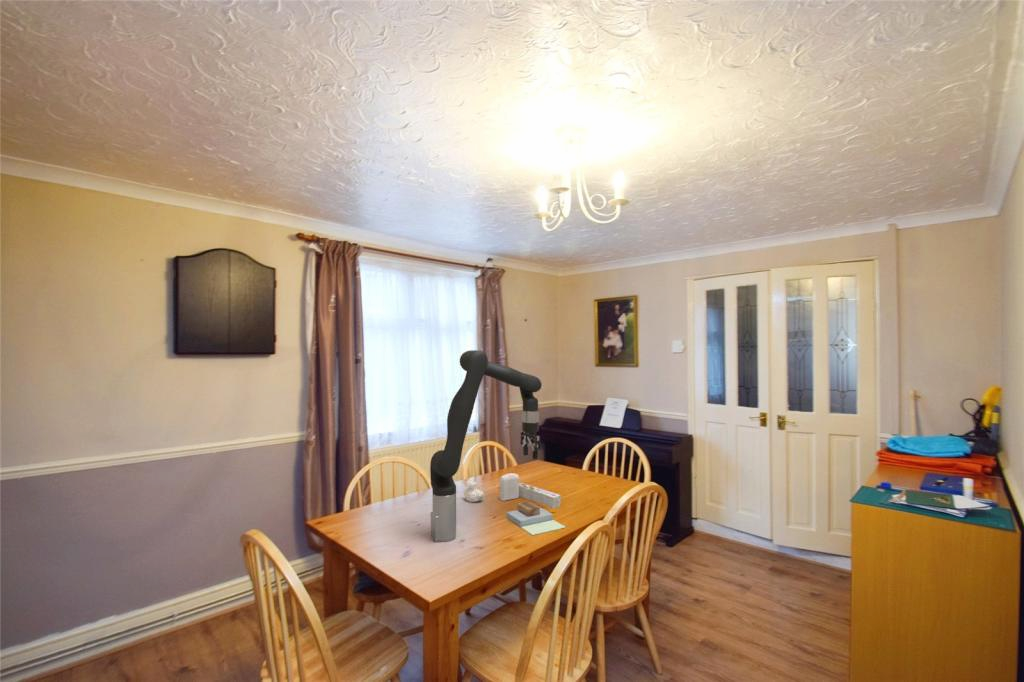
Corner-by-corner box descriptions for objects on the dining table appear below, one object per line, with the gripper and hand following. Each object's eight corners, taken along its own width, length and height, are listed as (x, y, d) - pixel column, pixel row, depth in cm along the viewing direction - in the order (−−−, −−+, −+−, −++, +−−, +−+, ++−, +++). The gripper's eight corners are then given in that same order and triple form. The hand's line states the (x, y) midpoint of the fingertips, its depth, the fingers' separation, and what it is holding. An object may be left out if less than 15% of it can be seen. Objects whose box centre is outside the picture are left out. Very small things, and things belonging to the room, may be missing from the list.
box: (561, 506, 208) (561, 494, 208) (554, 508, 204) (553, 496, 204) (520, 493, 228) (520, 482, 228) (513, 495, 224) (513, 484, 224)
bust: (462, 503, 217) (454, 489, 212) (469, 491, 223) (461, 476, 217) (482, 507, 211) (474, 493, 205) (489, 494, 216) (481, 480, 211)
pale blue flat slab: (520, 527, 182) (520, 521, 182) (507, 517, 192) (506, 512, 192) (552, 520, 189) (552, 514, 189) (538, 511, 200) (537, 506, 200)
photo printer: (515, 495, 222) (515, 471, 223) (520, 498, 219) (520, 473, 219) (498, 499, 217) (498, 474, 217) (502, 502, 213) (502, 476, 213)
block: (527, 517, 186) (527, 509, 186) (517, 510, 194) (517, 503, 194) (539, 514, 189) (539, 507, 189) (529, 508, 197) (529, 501, 197)
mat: (532, 535, 173) (532, 534, 173) (521, 527, 181) (521, 526, 181) (565, 527, 181) (565, 527, 181) (553, 520, 189) (553, 519, 189)
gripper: (515, 419, 202) (515, 454, 201) (530, 423, 189) (530, 461, 189) (529, 418, 205) (529, 453, 205) (545, 422, 193) (545, 459, 192)
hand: (530, 457), depth 197 cm, fingers open, 8 cm apart
